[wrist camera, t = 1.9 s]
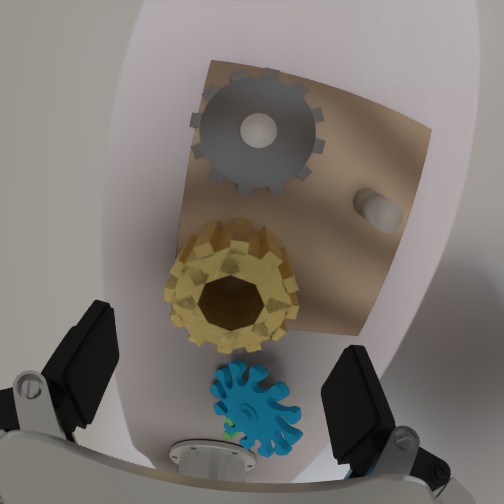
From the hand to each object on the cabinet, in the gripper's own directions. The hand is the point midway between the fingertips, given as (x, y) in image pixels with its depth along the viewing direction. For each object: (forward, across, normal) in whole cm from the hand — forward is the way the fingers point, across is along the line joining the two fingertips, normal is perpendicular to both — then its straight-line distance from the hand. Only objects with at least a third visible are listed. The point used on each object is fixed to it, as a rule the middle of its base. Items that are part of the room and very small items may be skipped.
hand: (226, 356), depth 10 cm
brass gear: (+9, 0, +1) cm, 9 cm away
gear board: (+10, -4, -3) cm, 11 cm away
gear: (+10, -4, +14) cm, 17 cm away
